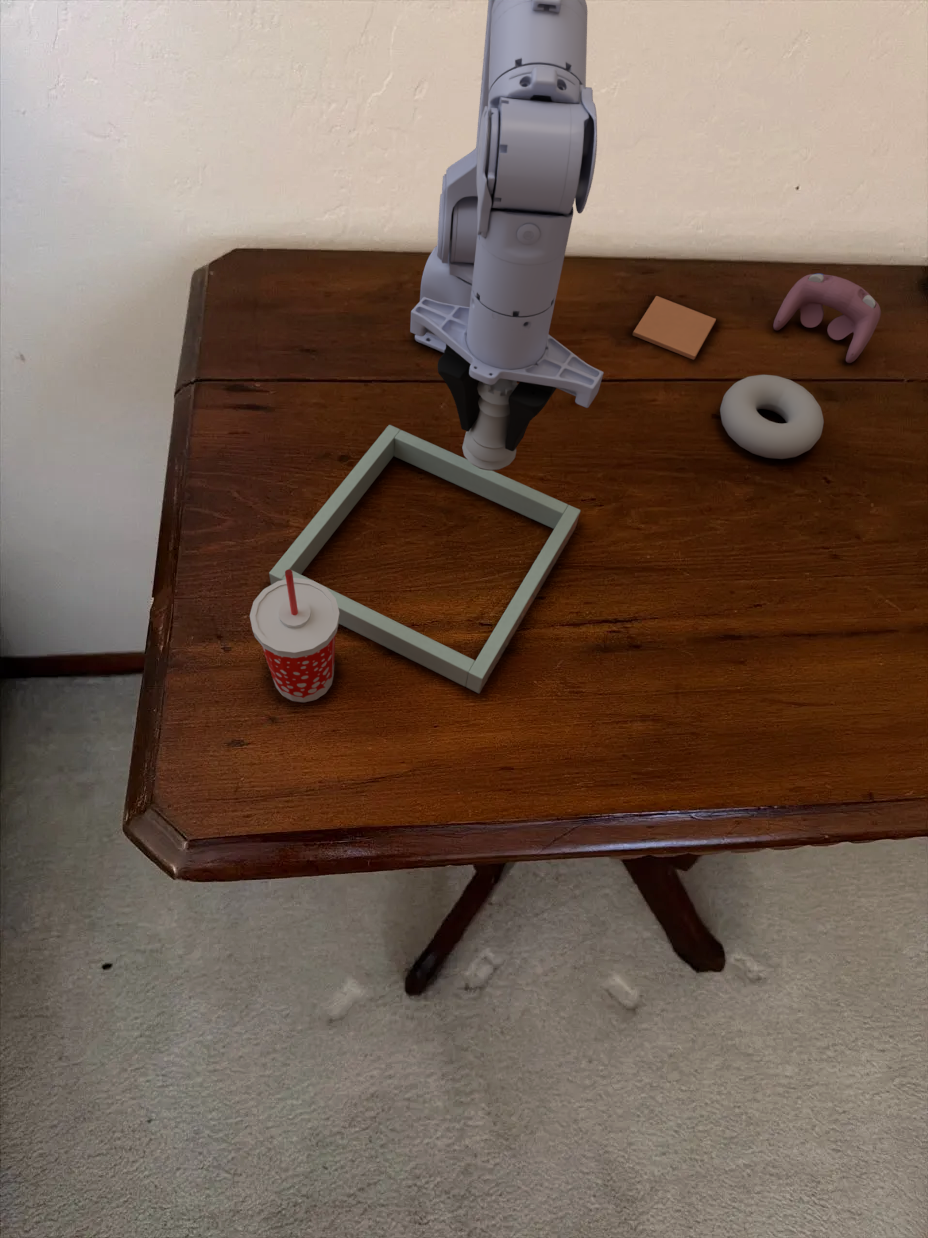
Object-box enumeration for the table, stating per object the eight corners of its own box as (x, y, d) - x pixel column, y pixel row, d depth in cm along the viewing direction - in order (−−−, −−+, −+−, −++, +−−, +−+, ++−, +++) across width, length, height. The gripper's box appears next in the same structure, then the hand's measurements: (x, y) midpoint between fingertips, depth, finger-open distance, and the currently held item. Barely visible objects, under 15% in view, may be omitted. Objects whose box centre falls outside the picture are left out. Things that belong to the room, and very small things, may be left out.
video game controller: (856, 361, 96) (893, 298, 92) (853, 367, 93) (891, 302, 89) (773, 323, 98) (806, 260, 95) (767, 327, 95) (801, 262, 91)
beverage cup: (282, 632, 70) (263, 523, 58) (355, 655, 70) (350, 549, 58) (250, 697, 67) (223, 596, 55) (326, 721, 67) (315, 624, 55)
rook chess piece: (453, 440, 73) (461, 365, 66) (502, 427, 74) (514, 353, 67) (474, 479, 71) (484, 406, 64) (524, 466, 72) (539, 393, 65)
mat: (632, 335, 93) (633, 331, 93) (655, 299, 97) (656, 295, 96) (693, 360, 92) (695, 356, 91) (714, 322, 95) (716, 318, 95)
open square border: (271, 590, 72) (268, 572, 70) (388, 443, 82) (389, 423, 80) (479, 694, 69) (482, 679, 67) (575, 527, 79) (581, 509, 76)
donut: (712, 455, 85) (816, 475, 84) (723, 429, 82) (831, 450, 81) (717, 385, 90) (814, 403, 90) (728, 358, 87) (828, 377, 87)
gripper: (390, 281, 58) (388, 427, 70) (589, 365, 56) (552, 502, 67) (441, 227, 62) (431, 374, 73) (630, 303, 59) (589, 443, 71)
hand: (491, 432), depth 70 cm, fingers closed on rook chess piece, 3 cm apart
